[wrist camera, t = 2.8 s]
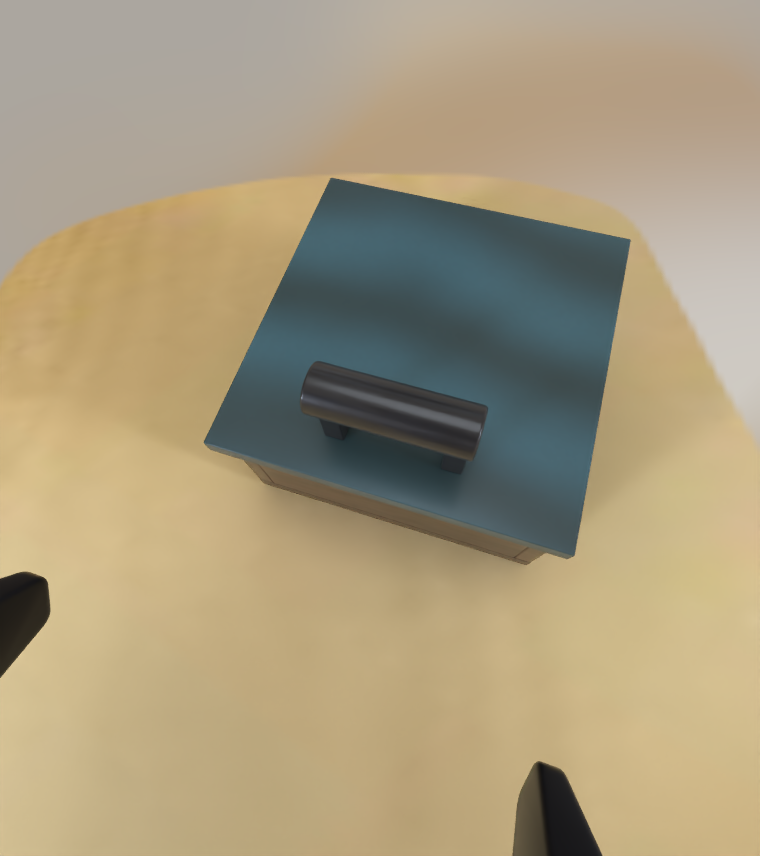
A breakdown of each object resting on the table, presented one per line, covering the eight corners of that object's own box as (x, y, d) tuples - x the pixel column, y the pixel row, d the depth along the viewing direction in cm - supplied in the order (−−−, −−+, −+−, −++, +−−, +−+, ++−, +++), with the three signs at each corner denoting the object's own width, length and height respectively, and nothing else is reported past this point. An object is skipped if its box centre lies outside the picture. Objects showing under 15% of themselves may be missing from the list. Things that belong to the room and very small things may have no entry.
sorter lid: (568, 559, 16) (622, 532, 12) (210, 450, 18) (154, 395, 14) (623, 251, 20) (677, 157, 16) (332, 190, 22) (317, 93, 18)
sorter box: (526, 565, 22) (571, 538, 16) (263, 483, 24) (218, 432, 18) (574, 338, 26) (623, 252, 20) (347, 284, 28) (332, 191, 22)
